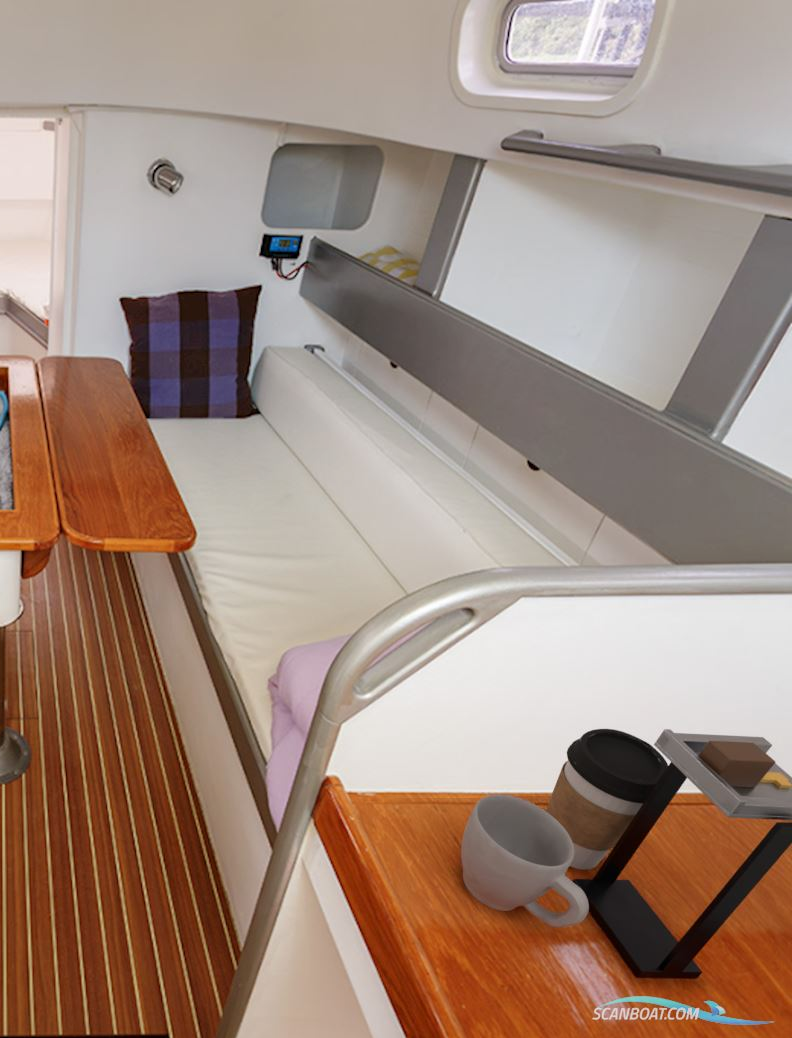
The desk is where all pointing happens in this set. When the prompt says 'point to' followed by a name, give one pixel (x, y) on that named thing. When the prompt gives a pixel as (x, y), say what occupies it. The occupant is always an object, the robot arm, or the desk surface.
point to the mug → (519, 859)
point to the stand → (636, 922)
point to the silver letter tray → (729, 800)
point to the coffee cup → (603, 790)
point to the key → (741, 764)
